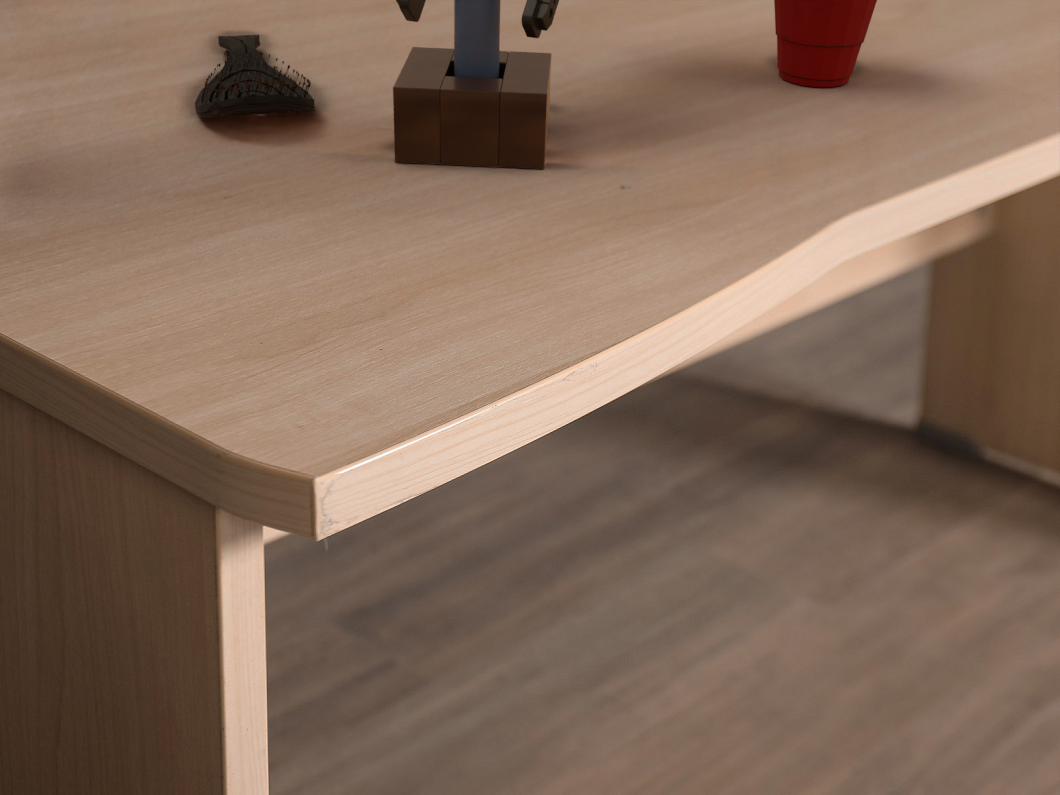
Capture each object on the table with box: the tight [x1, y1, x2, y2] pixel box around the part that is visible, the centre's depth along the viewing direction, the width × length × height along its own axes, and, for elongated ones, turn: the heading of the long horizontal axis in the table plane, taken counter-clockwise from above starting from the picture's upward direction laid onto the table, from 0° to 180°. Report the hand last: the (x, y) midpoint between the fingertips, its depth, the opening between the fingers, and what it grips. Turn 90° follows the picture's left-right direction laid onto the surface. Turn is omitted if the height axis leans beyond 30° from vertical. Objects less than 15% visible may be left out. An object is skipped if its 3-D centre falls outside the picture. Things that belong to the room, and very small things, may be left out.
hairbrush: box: [194, 34, 316, 119], centre depth 92 cm, size 8×4×25 cm
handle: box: [453, 0, 501, 79], centre depth 82 cm, size 3×3×11 cm
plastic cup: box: [773, 0, 878, 88], centre depth 98 cm, size 11×11×12 cm
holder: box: [392, 46, 552, 170], centre depth 83 cm, size 10×10×5 cm
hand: (467, 23), depth 79 cm, fingers open, 8 cm apart
